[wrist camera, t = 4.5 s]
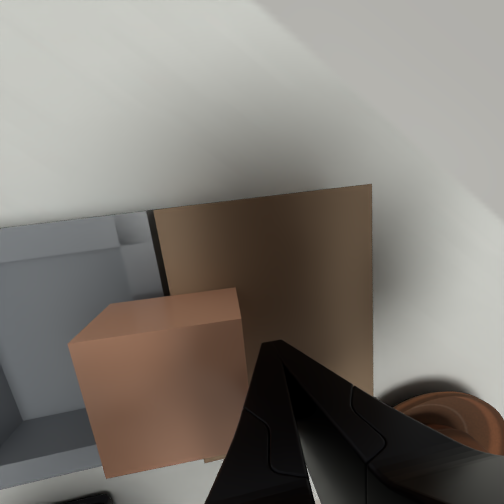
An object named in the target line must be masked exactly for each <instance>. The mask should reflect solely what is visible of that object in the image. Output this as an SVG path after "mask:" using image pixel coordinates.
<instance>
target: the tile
mask: <svg viewBox="0 0 504 504" xmlns="http://www.w3.org/2000/svg"><path fill="white" fill-rule="evenodd" d="M68 348H69V351H70V355H71V358H72V362H73V365H74V369H75V372H76V376H77V379H78V383H79V386H80V390H81V393H82V397H83V400H84V404H85V407H86V411H87V414H88V418H89V421H90V425H91V428H92V431H93V435H94V438H95V442H96V445H97V449H98V452H99V456H100V459H101V463H102V466H103V470H104V473H105V477H106V479H107V478H112V477H117V476H122V475H127V474H132V473H137V472H142V471H146V470H151V469H156V468H161V467H166V466H171V465H176V464H181V463H185V462H190V461H195V460H200V459H205V458H210V457H215V456H220V455H224V454H227V452H228V449H229V447H230V444H231V442H232V439H233V437H234V434H235V431H236V428H237V425H238V422H239V419H240V415H241V412H242V410H243V405H244V402H245V399H246V395H247V392H248V388H249V384H248V374H247V365H246V356H245V347H244V338H243V329H242V319H241V314H240V308H239V303H238V297H237V292H236V287H234V288H226V289H218V290H211V291H203V292H196V293H188V294H180V295H173V296H165V297H158V298H150V299H142V300H135V301H127V302H120V303H112V304H109V305H108V306H107V307H106V308H105V309H104V310H103V311H102V312H101V313H100V314H99V315H98V316H97V317H96V318H94V319H93V320H92V321H91V322H90V323H89V324H88V325H87V326H86V327H85V328H84V329H83V330H82V331H81V332H79V333H78V334H77V335H76V336H75V337H74V338H73V339H72V340H71V341H70V342H69V343H68Z"/></svg>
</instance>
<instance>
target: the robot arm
mask: <svg viewBox="0 0 504 504" xmlns="http://www.w3.org/2000/svg"><path fill="white" fill-rule="evenodd" d="M306 466H307V467H306ZM307 468H308V471H309V473H310V476H311V479H312V481H313V484H314V486H315V489H316V491H317V494H318V496H319V499H320V502H321V504H504V456H501V455H494V454H490V453H485V452H482V451H479V450H475V449H473V448H470V447H468V446H465V445H463V444H461V443H459V442H457V441H455V440H453V439H451V438H449V437H447V436H445V435H444V434H442V433H440V432H438V431H436V430H434V429H432V428H430V427H428V426H426V425H424V424H422V423H420V422H419V421H417V420H415V419H413V418H411V417H409V416H407V415H405V414H403V413H401V412H399V411H398V410H396V409H394V408H392V407H390V406H388V405H387V404H385V403H383V402H381V401H380V400H378V399H376V398H375V397H373V396H371V395H370V394H368V393H366V392H365V391H363V390H361V389H360V388H358V387H357V386H353V384H352V383H350V382H349V381H347V380H345V379H344V378H342V377H341V376H339V375H337V374H336V373H334V372H333V371H331V370H329V369H328V368H326V367H325V366H323V365H322V364H320V363H318V362H317V361H315V360H314V359H312V358H310V357H309V356H307V355H306V354H304V353H303V352H301V351H299V350H298V349H296V348H295V347H293V346H291V345H290V344H288V343H287V342H285V341H284V340H282V339H280V340H274V341H269V342H263V343H261V346H260V350H259V353H258V357H257V360H256V364H255V367H254V371H253V374H252V378H251V381H250V385H249V388H248V392H247V395H246V399H245V402H244V405H243V410H242V412H241V415H240V419H239V422H238V425H237V428H236V431H235V434H234V437H233V439H232V442H231V444H230V447H229V449H228V452H227V454H226V456H225V459H224V461H223V463H222V465H221V468H220V470H219V472H218V475H217V477H216V479H215V481H214V484H213V486H212V488H211V490H210V493H209V495H208V497H207V499H206V502H205V504H315V501H314V497H313V493H312V489H311V485H310V482H309V476H308V472H307ZM65 504H112V501H111V498H110V497H109V496H108V495H104V494H103V495H97V496H93V497H89V498H85V499H81V500H77V501H73V502H69V503H65Z"/></svg>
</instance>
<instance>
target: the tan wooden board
mask: <svg viewBox="0 0 504 504" xmlns="http://www.w3.org/2000/svg"><path fill="white" fill-rule="evenodd" d="M153 212H154V217H155V222H156V227H157V232H158V237H159V242H160V246H161V251H162V256H163V261H164V266H165V271H166V276H167V281H168V286H169V291H170V296H173V295H180V294H188V293H196V292H203V291H211V290H218V289H226V288H234V287H236V292H237V297H238V303H239V308H240V314H241V319H242V329H243V338H244V347H245V356H246V365H247V374H248V384H249V385H250V381H251V378H252V374H253V371H254V367H255V364H256V360H257V357H258V353H259V350H260V346H261V343H263V342H269V341H274V340H280V339H282V340H284V341H285V342H287V343H288V344H290V345H291V346H293V347H295V348H296V349H298V350H299V351H301V352H303V353H304V354H306V355H307V356H309V357H310V358H312V359H314V360H315V361H317V362H318V363H320V364H322V365H323V366H325V367H326V368H328V369H329V370H331V371H333V372H334V373H336V374H337V375H339V376H341V377H342V378H344V379H345V380H347V381H349V382H350V383H352V384H353V386H357V387H358V388H360V389H361V390H363V391H365V392H366V393H368V394H370V395H371V396H373V284H372V184H367V185H358V186H349V187H341V188H332V189H323V190H315V191H307V192H298V193H290V194H282V195H273V196H265V197H256V198H248V199H240V200H231V201H223V202H215V203H206V204H198V205H190V206H181V207H173V208H165V209H158V210H153ZM225 456H226V454H224V455H220V456H215V457H210V458H205V459H204V462H205V463H208V462H212V461H216V460H220V459H224V458H225Z"/></svg>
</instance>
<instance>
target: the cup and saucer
mask: <svg viewBox="0 0 504 504" xmlns="http://www.w3.org/2000/svg"><path fill="white" fill-rule="evenodd" d="M393 408H394V409H396V410H398V411H399V412H401V413H403V414H405V415H407V416H409V417H411V418H413V419H415V420H417V421H419V422H420V423H422V424H424V425H426V426H428V427H430V428H432V429H434V430H436V431H438V432H440V433H442V434H444V435H445V436H447V437H449V438H451V439H453V440H455V441H457V442H459V443H461V444H463V445H465V446H468V447H470V448H473V449H475V450H479V451H482V452H485V453H490V454H494V455H501V456H504V420H503V418H502V416H501V415H500V413H499V412H498V411H497V410H496V409H495V408H494V407H492V406H491V405H490V404H488V403H486V402H485V401H483V400H481V399H479V398H477V397H475V396H472V395H470V394H466V393H461V392H450V391H447V392H433V393H427V394H422V395H419V396H416V397H413V398H410V399H408V400H406V401H403V402H402V403H400V404H398V405H396V406H394V407H393Z"/></svg>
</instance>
